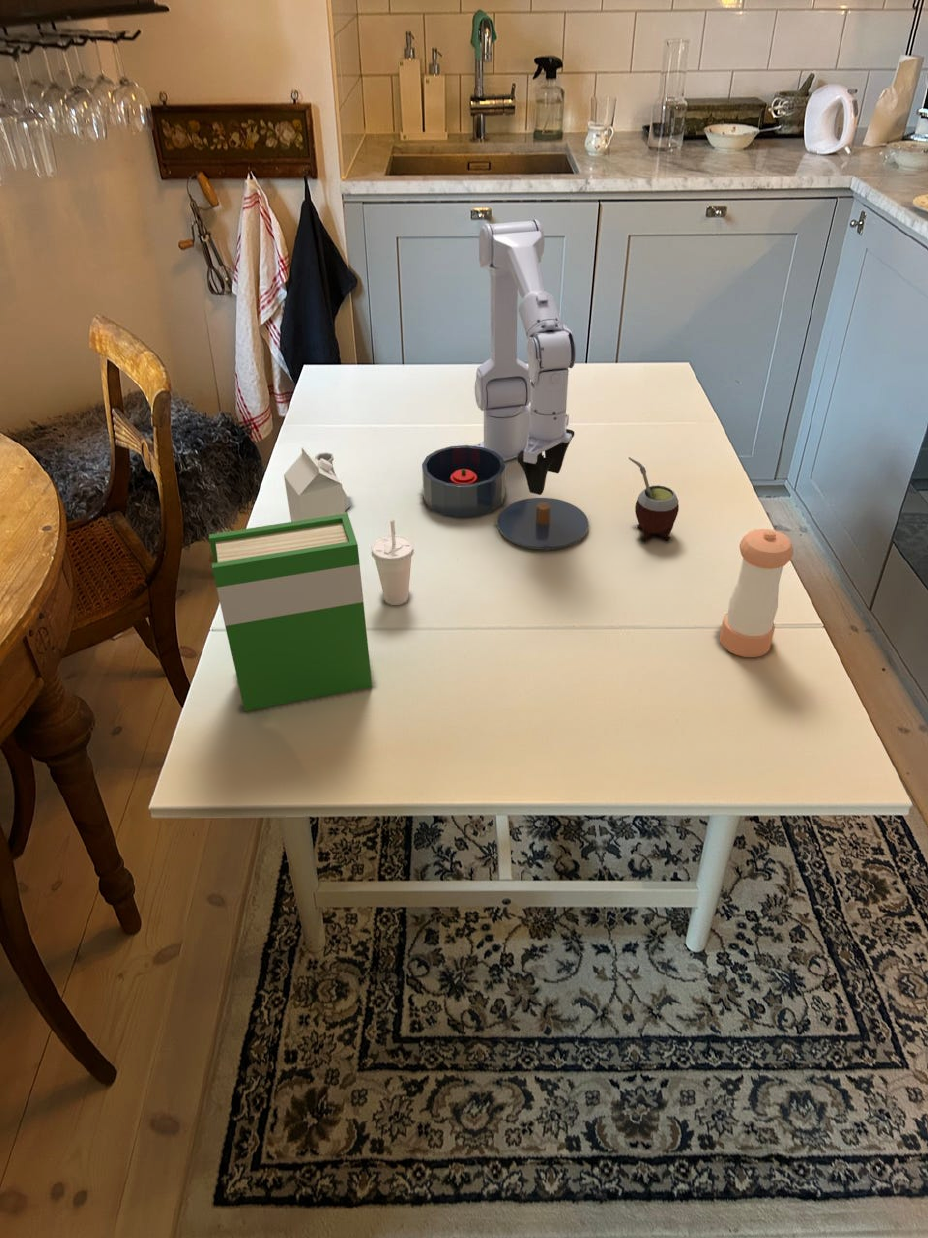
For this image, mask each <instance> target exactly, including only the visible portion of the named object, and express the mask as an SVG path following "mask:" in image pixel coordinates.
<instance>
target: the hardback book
mask: <svg viewBox="0 0 928 1238" xmlns="http://www.w3.org/2000/svg"><path fill="white" fill-rule="evenodd" d="M208 539H209V545H210V549H211V554H212V558H213V562H212V563H211V569H212V573H213V578H214V582H215V586H216V587H215V588H216V591H217V596H218V600H219V604H220V608H221V614H222V618H223V622H224V626H225V631H226V635H227V640H228V644H229V649H230V653H231V657H232V663H233V666H234V672H235V675H236V680H237V684H238V689H239V694H240V698H241V702H242V707H243V711H244V712H248V711H253V710H259V709H264V708H268V707H269V708H270V707H274V706H278V705H283V704H289V703H296V702H299V701H300V702H301V701H305V700H311V699H315V698H320V697H326V696H331V695H336V694H341V693H348V692H352V691H357V690H358V691H359V690H362V689H368V688H372V687H373V681H372V671H371V661H370V651H369V642H368V632H367V625H366V624H367V623H366V612H365V603H364V594H363V593H364V592H363V584H362V583H363V582H362V573H361V564H360V563H361V562H360V554H359V545H358V540H357V539H356V535H355V532H354V529H353V526H352V522H351V520H350V517H349V514H348V513H347V512H345V514H339V515H333V516H326V517H320V518H314V519H307V520H301V521H294V522H291V521H289V522H288V521H287V522H282V523H276V524H268V525H262V526H256V527H248V528H243V529H236V530H229V531H223V532H218V533H217V532H216V533H210V534H208Z"/></svg>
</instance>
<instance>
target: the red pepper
mask: <svg viewBox="0 0 928 1238" xmlns="http://www.w3.org/2000/svg"><path fill="white" fill-rule="evenodd" d="M450 483H453V484H475V483H477V475H476V474H475V473H474V472H472V471H471V470H467V469H461V470H457V471H455V472H454V473H453V474H452V475H451V477H450Z"/></svg>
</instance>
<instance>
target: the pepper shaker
mask: <svg viewBox="0 0 928 1238" xmlns="http://www.w3.org/2000/svg"><path fill="white" fill-rule="evenodd" d="M738 547H739V551H740V554H741V557H742V562H741V565H740V570H739V575H738V579H737V581H736V583H735V585H734V588H733V590H732V593H731V595H730V597H729V601H728V608H727V613H726V614H725V615H724V616H723V619H722V624H721V630H720V633H719V642H720V644H721V646H723V648H724V649H726V651H728V652H730V653H731V654H733V655H735V656H740V657H744V658H756V657H761V656H763V655H765V654H767V653H768V652H769V651H770V649H771V646H772V641H773V637H774V634H775V631H776V630H775V629H776V625H775V619H776V616H777V613H778V609H779V592H780V591H779V590H780V583H781V579H782V574H783V570H784V566H785V565H786V564H788V563H789V562H790V561H791V560H792V558H793V555H794V546H793V544H792V542H791V539H790V538H789V537H788V536H787V535H786V534H784V533H783V532H781V531H777V530H775V529H771V528H757V529H756V528H755V529H753V530H750V531H749V532H748V533H747V534H745V535H744V536H743V537H742V539H741V540H740V542H739V546H738Z"/></svg>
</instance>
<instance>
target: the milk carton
mask: <svg viewBox="0 0 928 1238" xmlns="http://www.w3.org/2000/svg"><path fill="white" fill-rule="evenodd" d="M331 468H332V464H331V463H329V462H328V461H327V460H325V459H322V458H321V459H320V460H317V459H315V457H312V456H311V455H310V453H309V452H308V451H307V450H306V449H305V448H304V447H303V446H301V454H300V455H299V456H298V457H297V458H296V459H295V461H294V462H293V463H292V464H291V465H290V467H289V468H288V469H287V470H286V471H285V472H284V474H283V479H284V484H285V491H286V498H287V504H288V511H289V517H290V522H294V521H301V520H307V519H314V518H320V517H326V516H333V515H339V514H346V510H345V505H344V496H343V489H344V487H343V484H342V482H341V481H340V479H339V478H338V476H337V475H336V476H337V477H336V476H335V475H334V474H333V472H332V471H331V470H330V469H331Z"/></svg>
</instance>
